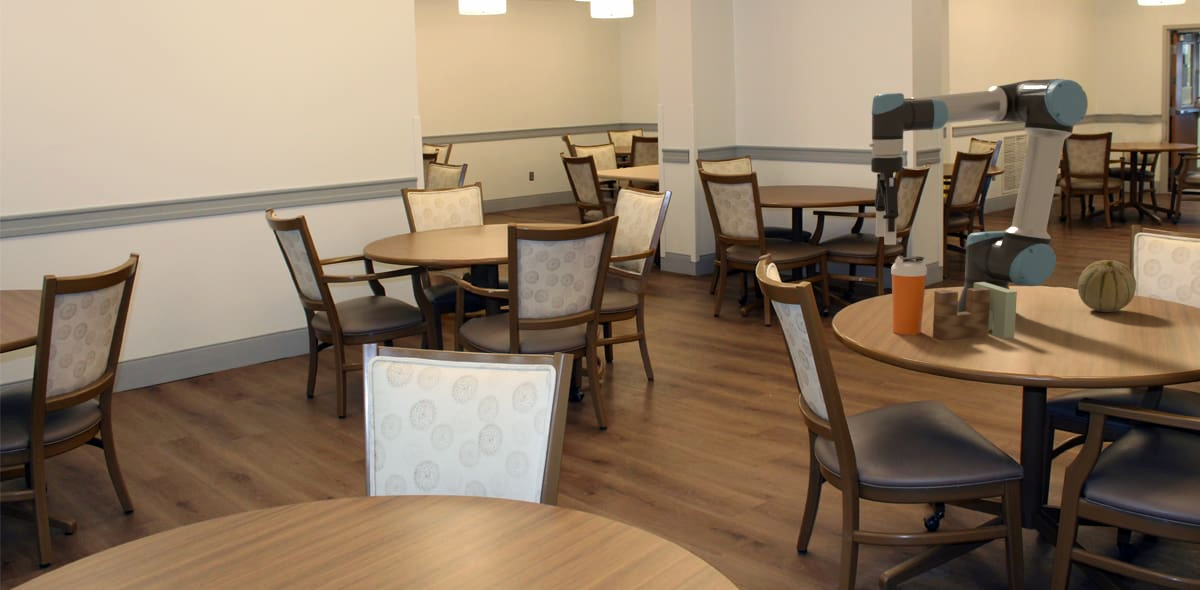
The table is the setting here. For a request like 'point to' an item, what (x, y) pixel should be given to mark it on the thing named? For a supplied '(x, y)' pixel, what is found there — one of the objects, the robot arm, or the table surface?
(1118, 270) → the cantaloupe
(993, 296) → the slot plate
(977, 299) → the brown wooden slotted board
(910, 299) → the shaker bottle
